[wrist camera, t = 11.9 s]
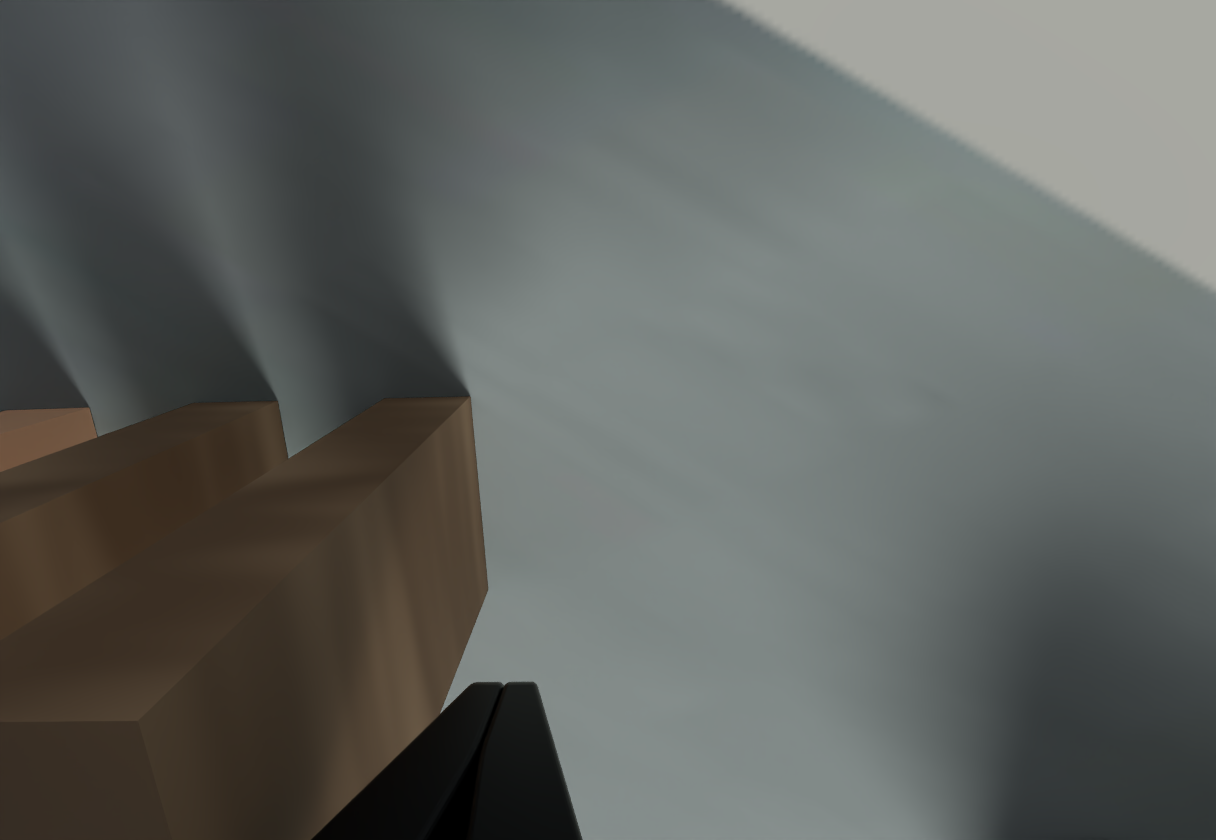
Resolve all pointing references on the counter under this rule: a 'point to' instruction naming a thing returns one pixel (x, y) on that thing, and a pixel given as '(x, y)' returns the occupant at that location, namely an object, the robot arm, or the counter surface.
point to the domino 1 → (41, 433)
